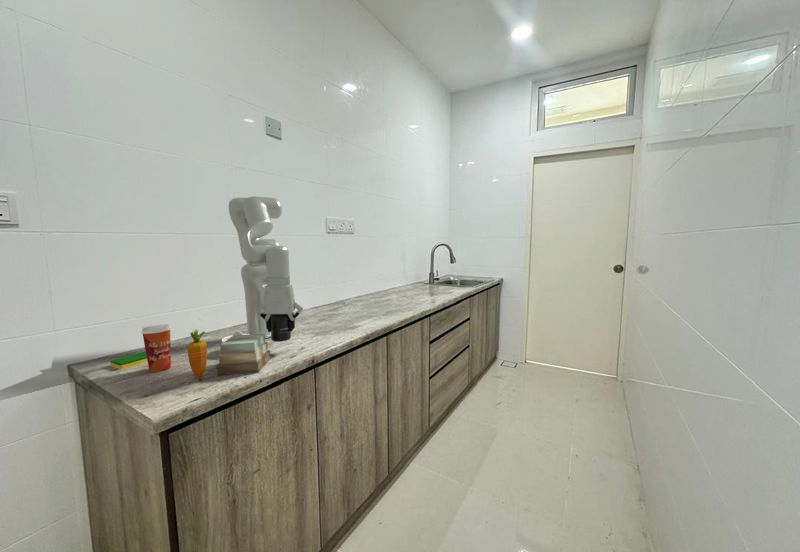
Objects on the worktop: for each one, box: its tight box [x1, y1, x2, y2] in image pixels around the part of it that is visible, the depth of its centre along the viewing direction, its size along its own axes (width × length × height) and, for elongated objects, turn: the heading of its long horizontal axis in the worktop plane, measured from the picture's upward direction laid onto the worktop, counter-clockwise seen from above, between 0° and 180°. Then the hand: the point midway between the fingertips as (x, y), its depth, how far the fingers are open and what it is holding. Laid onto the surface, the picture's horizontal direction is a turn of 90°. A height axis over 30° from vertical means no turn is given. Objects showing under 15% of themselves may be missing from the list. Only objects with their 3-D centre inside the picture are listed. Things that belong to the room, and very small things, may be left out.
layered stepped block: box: [216, 334, 271, 376], centre depth 104 cm, size 12×12×9 cm
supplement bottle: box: [270, 314, 292, 343], centre depth 116 cm, size 7×7×12 cm
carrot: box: [186, 329, 208, 381], centre depth 94 cm, size 5×5×15 cm
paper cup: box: [140, 323, 172, 373], centre depth 103 cm, size 8×8×14 cm
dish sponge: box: [109, 351, 148, 370], centre depth 112 cm, size 7×14×2 cm, turn 154°
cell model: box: [221, 331, 250, 344], centre depth 120 cm, size 10×12×7 cm
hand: (280, 330), depth 116 cm, fingers closed on supplement bottle, 6 cm apart
